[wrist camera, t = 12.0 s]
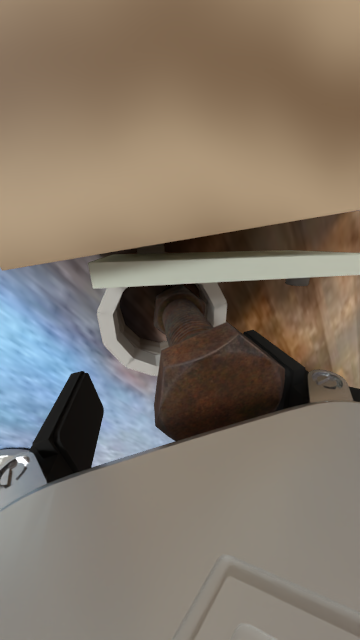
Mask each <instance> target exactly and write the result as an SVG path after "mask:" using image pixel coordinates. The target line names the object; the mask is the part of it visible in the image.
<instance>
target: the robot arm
mask: <svg viewBox="0 0 360 640" xmlns="http://www.w3.org/2000/svg"><path fill="white" fill-rule="evenodd" d="M243 335H245V336H246V337H247V338H249V339H250V340H251V341H252V342H254V343H255V344H256V345H258V346H259V347H260V348H261V349H263V350H264V351H265V352H267V353H268V354H269V355H270V356H271V357H273V358H274V359H275V360H276V361H277V362H278V363H279V364H280V365H281V366H282V367H284V368H285V380H284V389H283V394H282V398H281V401H280V403H279V405H278V407H277V409H276V411H275V412H273V413H269V414H265V415H262V416H259V417H255V418H252V419H249V420H245V421H242V422H239V423H235V424H232V425H228V426H225V427H222V428H218V429H215V430H212V431H209V432H205V433H202V434H199V435H195V436H192V437H189V438H185V439H182V440H179V441H176V442H172V443H169V444H166V445H162V446H159V447H156V448H153V449H150V450H146V451H143V452H140V453H137V454H133V455H130V456H127V457H124V458H121V459H117V460H114V461H111V462H108V463H105V464H102V465H99V466H95V467H92V468H91V466H92V461H93V457H94V453H95V448H96V444H97V440H98V435H99V431H100V426H101V422H102V418H103V413H104V409H103V406H102V403H101V401H100V399H99V397H98V394H97V392H96V390H95V388H94V385H93V383H92V381H91V379H90V376H89V374H88V373H85V372H84V371H81V372H77V373H73V374H71V375H70V377H69V379H68V381H67V382H66V384H65V386H64V388H63V390H62V391H61V393H60V395H59V397H58V399H57V400H56V402H55V404H54V406H53V408H52V409H51V411H50V413H49V415H48V417H47V418H46V420H45V422H44V424H43V426H42V427H41V429H40V431H39V433H38V435H37V436H36V438H35V440H34V442H33V445H32V447H31V449H30V450H23V449H3V450H0V640H360V389H357V388H353V387H349V386H348V384H347V382H346V380H345V379H343V378H342V377H341V376H339V375H338V374H336V373H333V372H331V371H326V370H313V371H310V372H308V371H306V370H305V367H303V366H302V365H301V364H299V363H298V362H297V361H295V360H294V359H293V358H291V357H290V356H288V355H287V354H286V353H284V352H283V351H282V350H280V349H279V348H278V347H276V346H275V345H273V344H272V343H271V342H269V341H268V340H267V339H265V338H264V337H263V336H261V335H260V334H258V333H257V332H256V331H254V330H251V331H246V332H244V333H243Z"/></svg>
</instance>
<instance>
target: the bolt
mask: <svg viewBox="0 0 360 640" xmlns="http://www.w3.org/2000/svg"><path fill="white" fill-rule="evenodd" d="M205 306H206V304H205V303H204V302H203V301H202V300H201V299H200V298H199V297H198V296H196V295H195V294H194V293H192V292H191V291H190V290H189V289H187V288H186V287H185V286H183V285H179V286H176V287H175V286H170V287H168V288H167V289H165V290H164V291H163V292H162V293H160V294H158V295H157V296H156V301H155V311H154V326H155V327H156V328H157V329H158V330H160V331H161V332H162V333H164V334H165V335H166V337H167V342H168V346H169V347H167V348H165V349H163V350H161V355H160V363H159V370H158V378H157V386H156V394H155V402H154V411H155V426H156V427H157V428H159V429H160V430H161V431H162V432H163V433H165V434H166V435H167V436H168V437H170V438H172V439H173V440H175V441H179V440H182V439H185V438H189V437H192V436H195V435H199V434H202V433H205V432H209V431H212V430H215V429H218V428H222V427H225V426H228V425H232V424H235V423H239V422H242V421H245V420H249V419H252V418H255V417H259V416H262V415H265V414H269V413H273V412H275V411H276V409H277V407H278V405H279V403H280V401H281V398H282V394H283V389H284V380H285V368H284V367H282V366H281V365H280V364H279V363H278V362H277V361H276V360H275V359H274V358H273V357H271V356H270V355H269V354H268V353H267V352H265V351H264V350H263V349H261V348H260V347H259V346H258V345H256V344H255V343H254V342H252V341H251V340H250V339H249V338H247V337H246V336H245V335H243V334H242V333H241V332H239V331H238V330H237V329H236V328H234V327H233V326H232V325H230V324H229V323H228V322H225V323H223V324H220V325H218V326H216V327H213V326H212V325H211V324H210V322H209V321H208V320H207V318H206V317H205V316H204V315H205Z"/></svg>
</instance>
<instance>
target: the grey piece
mask: <svg viewBox="0 0 360 640" xmlns="http://www.w3.org/2000/svg"><path fill="white" fill-rule="evenodd" d="M88 266H89V271H90V276H91V281H92V286H93V289H96V288H107V289H106V292H105V294H104V296H103V299H102V301H101V303H100V306H99V308H98V311H97V316H98V321H99V326H100V331H101V336H102V341H103V344H104V346H105V347H106V348H107V349H108V350H109V351H110V352H111V353H112V354H113V355H114V356H115V357H116V358H117V359H118V360H119V361H120V362H121V363H122V365H123V366H124V367H125V366H126V368H129V369H133V370H136V371H139V372H142V373H145V374H148V375H152V376H154V374H155V376H158V370H159V363H160V355H161V354H159V355H154V354H151V353H149V352H146V351H143V350H140V349H137V348H135V347H134V346H133V345H132V344H131V343H130V342H129V341H128V340H127V338H126V337H125V336H124V335H123V334H122V333H121V332H120V330H119V324H118V317H117V311H116V306H117V304H118V302H119V300H120V297H121V295H122V293H123V291H124V289H126V288H127V287H134V286H153V285H173V284H192V283H198V284H199V286H200V288H201V290H202V291H203V293H204V295H205V297H206V299H207V301H208V308H207V320H208V321H209V322H210V324H211V325H212V326H213V327H216V326H218V325H220V324H223V323H225V322H226V312H227V301H226V299H225V297H224V295H223V293H222V291H221V289H220V287H219V285H218V283H217V282H230V281H250V280H269V279H286V282H285V283H286V284H288V285H294V286H307V285H308V284H309V280H310V277H326V276H346V275H360V253H346V252H322V251H299V250H273V251H232V252H191V253H150V254H113V255H110V256H107V257H104V258H101V259H98V260H95V261H92V262H89V263H88Z"/></svg>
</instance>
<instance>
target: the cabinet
mask: <svg viewBox="0 0 360 640" xmlns="http://www.w3.org/2000/svg"><path fill="white" fill-rule="evenodd" d="M356 210H360V0H0V267H1V269H2V270H8V269H14V268H20V267H26V266H32V265H38V264H44V263H49V262H55V261H61V260H67V259H73V258H79V257H85V256H91V255H97V254H103V253H108V252H114V251H120V250H126V249H132V248H136V250H137V254H150V253H167V252H165V250H164V244H163V243H167V242H173V241H179V240H185V239H191V238H197V237H203V236H209V235H214V234H220V233H226V232H232V231H238V230H244V229H250V228H256V227H262V226H267V225H273V224H279V223H285V222H291V221H297V220H303V219H309V218H315V217H321V216H326V215H332V214H338V213H344V212H350V211H356ZM194 284H195V285H196V286H197V288H198V289H199V298H200V299H201V300H202V301H203V302H204V303H205V304H206V306H205V315H204V316H205V317H206V318H207V308H208V301H207V299H206V297H205V295H204V293H203V291H202V290H201V288H200V286H199V284H198V283H194ZM121 297H122V295H121ZM121 297H120V300H121ZM120 300H119V302H118V304H117V306H116V311H117V317H118V324H119V330H120V332H121V333H122V334H123V335H124V336H125V337H126V338H127V340H128V341H129V342H130V343H131V344H132V345H133V346H134V347H135V348H137V349H140V350H143V351H146V352H149V353H151V354H154V355H159V354H161V350H163V349H165V348H167V347H169V346H168V342H167V341H164V342H160V343H159V342H154V341H150V340H146V339H142V338H140V337H138V336H137V335H136V334H135V333H134V332H133V331H132V330H131V329H130V328H129V327H127V326H126V325H125V322H124V319H123V315H122V312H121V309H120V306H119V304H120Z"/></svg>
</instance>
